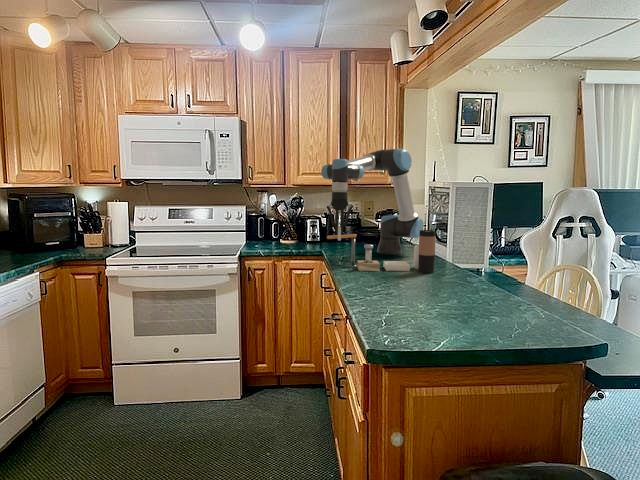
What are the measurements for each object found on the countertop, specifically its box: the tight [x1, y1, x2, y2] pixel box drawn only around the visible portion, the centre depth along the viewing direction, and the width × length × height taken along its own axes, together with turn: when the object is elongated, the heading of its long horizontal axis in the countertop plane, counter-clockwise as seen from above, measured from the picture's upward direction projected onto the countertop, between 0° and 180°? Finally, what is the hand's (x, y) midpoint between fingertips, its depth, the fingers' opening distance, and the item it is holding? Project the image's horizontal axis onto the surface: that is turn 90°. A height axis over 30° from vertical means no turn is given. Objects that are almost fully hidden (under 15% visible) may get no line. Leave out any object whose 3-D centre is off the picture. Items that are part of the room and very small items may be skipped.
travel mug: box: [417, 229, 437, 275], centre depth 226 cm, size 8×8×20 cm
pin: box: [363, 243, 374, 263], centre depth 233 cm, size 4×4×12 cm
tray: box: [382, 260, 411, 272], centre depth 235 cm, size 11×11×3 cm
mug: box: [413, 244, 419, 270], centre depth 238 cm, size 12×9×11 cm
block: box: [356, 259, 381, 272], centre depth 234 cm, size 10×10×4 cm
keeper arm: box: [326, 233, 357, 240], centre depth 235 cm, size 17×3×1 cm, turn 125°
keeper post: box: [348, 237, 357, 268], centre depth 240 cm, size 4×4×15 cm
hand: (339, 240), depth 231 cm, fingers closed
